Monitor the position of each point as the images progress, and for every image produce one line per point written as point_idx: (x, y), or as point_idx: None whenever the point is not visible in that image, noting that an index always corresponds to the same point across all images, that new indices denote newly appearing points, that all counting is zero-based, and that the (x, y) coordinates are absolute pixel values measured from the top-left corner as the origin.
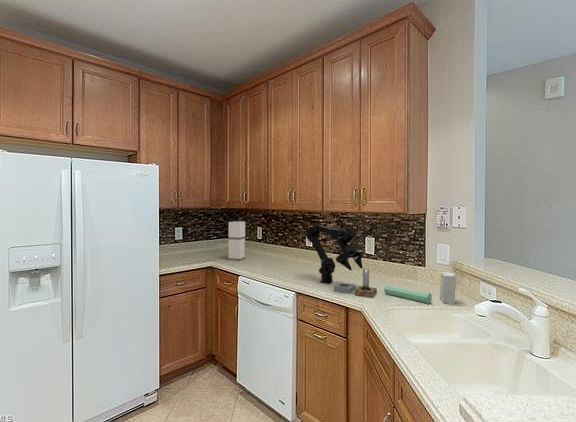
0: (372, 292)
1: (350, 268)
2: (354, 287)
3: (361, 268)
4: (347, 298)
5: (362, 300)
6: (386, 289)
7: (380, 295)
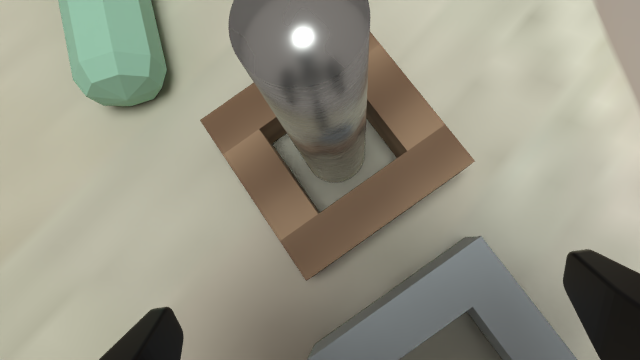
0: None
1: (624, 274)
2: (339, 332)
3: (179, 326)
4: (591, 123)
5: (489, 23)
6: (149, 46)
7: (238, 71)
